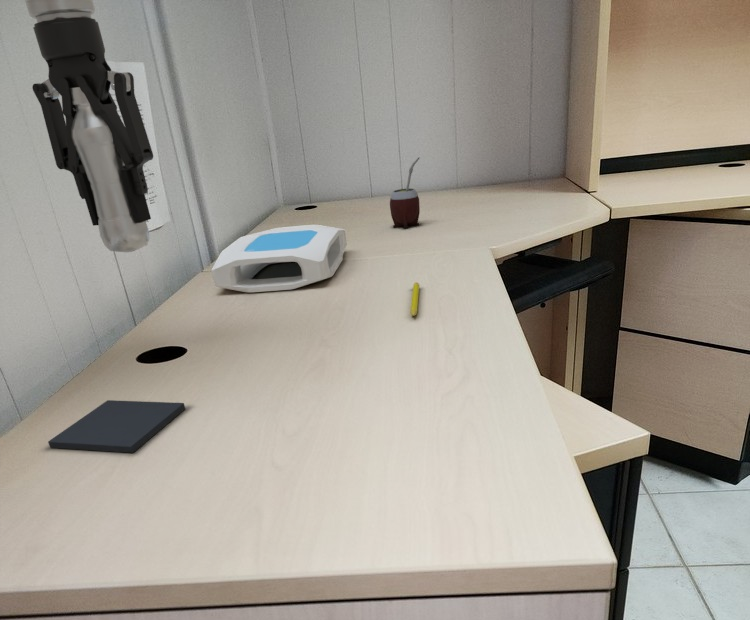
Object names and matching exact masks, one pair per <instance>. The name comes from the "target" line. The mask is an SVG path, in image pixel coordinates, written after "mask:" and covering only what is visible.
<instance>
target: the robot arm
mask: <svg viewBox="0 0 750 620" xmlns="http://www.w3.org/2000/svg"><path fill="white" fill-rule="evenodd" d="M24 2H25V4H26V8H27V11H28V15H29V16H30V17H31V18H32V19H34V20H36V23H34V26H33V27H32V28H33V32H34V35H35V38H36V42H37V45H38V48H39V51H40V55H41V57H42V58H43V60H45V62H46V64H47V66H48V79H46V80H44V81H43V82H37V83H33V84H32V85H31V86H32V91H33V93H34V95H35V97H36V99H37V101H38V103H39V105H40V107H41V111H42V115H43V119H44V123H45V127H46V130H47V135H48V138H49V142H50V146H51V150H52V154H53V157H54V161H55V165H56V167H57V168H58V169H59V170H65V171H68V172H70V173H71V174H72V175H73V179H74V182H75V185H76V187H77V192H78V194H79V196H80V198H81V200H84V201H85V204H86V207H87V211H88V215H89V217H90V221H91V224H92V226H98V219H99V217H98V215H97V210H96V206H95V201H94V196H93V192H92V189H91V186H90V181H89V180H88V177H87V174H86V171H85V169H84V166H83V164H82V162H81V159H80V157H79V155H78V152H77V150H76V146H75V145H74V143H73V140H72V133H71V129H72V124H73V120H74V117H75V114H76V106H75V105H73V104H72V96H71V91H70V90H71V89H70V88H76V87H80V89H81V91H82V92H83V93H84V94H85V96H86V98H87V100H88V102H89V103H90V105H91V107H92V109H93V111H94V113H95V114H96V115H98V116H100V117H101V118H102V119H103V120H104V121H105V123H106V124H107V125H108V127H109V129H110V131H111V133H112V137H113V144H114V145H115V147H116V149H117V151H118V153H119V155H120V157H121V158H122V160H123V162H124V164H125V165H124V166H123V168H124V169H125V170H122V171H121V172H122V175H123V179H124V183H125V186H126V190H127V194H128V197H129V201H130V204H131V208H132V212H133V215H134V219H135V223H141V222H144V221H146V222H147V221H149V220H151V219H152V217H151V214H150V210H149V209H150V208H149V206H148V202H147V199H146V194H148V193H149V192H148V191H149V188H148V184H147V180H146V177H145V172H144V165H145V164H146V163H148V162H150V161H152V160H154V153H153V150H152V147H151V143H150V140H149V136H148V134H147V130H146V127H145V123H144V121H143V117H142V114H141V111H140V107H139V105H138V102H137V99H136V94H135V78H134V75H133V74H132V73H131V72H127V71H126V72H125V71H124V72H119V71H114V70H112V68H111V67H110V65H109V63H108V62H107V60H106V57H105V53H106V47H105V44H104V40H103V35H102V33H101V29H100V25H99V22H98V21H97V20H96V19H95V18H92V15H93V14H95V11H96V9H95V5H94V2H93V0H24ZM111 89H112V90H113V91H114V95H115V99H116V102H115V101H114V99H113V97H112V94H111V93H110V90H111ZM60 96H61V101H60V99H59V97H60ZM116 103H117V105H116ZM118 109H119V112H120V114H119V112H118ZM120 115H121V116H120Z"/></svg>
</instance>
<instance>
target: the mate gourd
mask: <svg viewBox="0 0 750 620" xmlns="http://www.w3.org/2000/svg"><path fill="white" fill-rule="evenodd" d="M419 160H420V157H417V158H416V159H415V160H414V162H412V164H411V166H410V167H409V169H408V178H407V183H406V187H405V188H400V189H396V190H393V191H392V193H391V195H390V197H389V209H390V217H391V219H392V222H393V225H392V227H393V229H395V228H403V230H406V229H407V230H408V227H418V226H420V222H419V219H420V213H421V212H420V196H419V193H418V192H417V191H416V189H415V188H410V183H411V178H412V173H413V171H414V167H415V165H416V164H417V162H418V161H419Z"/></svg>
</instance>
